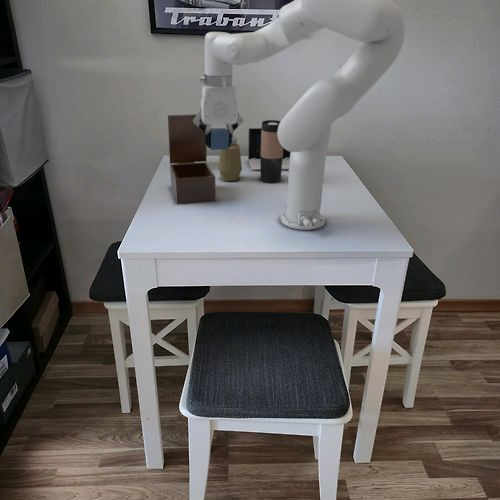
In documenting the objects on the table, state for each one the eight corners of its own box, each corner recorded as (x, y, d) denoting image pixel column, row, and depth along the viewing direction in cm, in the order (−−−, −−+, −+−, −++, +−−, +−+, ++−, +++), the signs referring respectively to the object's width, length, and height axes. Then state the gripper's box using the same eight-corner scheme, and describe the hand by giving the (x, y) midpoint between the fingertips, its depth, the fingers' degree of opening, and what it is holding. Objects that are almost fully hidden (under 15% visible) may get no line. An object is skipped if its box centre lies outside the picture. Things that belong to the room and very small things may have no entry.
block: (228, 149, 137) (228, 132, 135) (211, 150, 136) (211, 132, 134) (224, 144, 141) (225, 127, 139) (208, 145, 140) (208, 128, 138)
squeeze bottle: (244, 181, 165) (245, 129, 157) (222, 183, 162) (222, 131, 154) (236, 174, 171) (237, 124, 163) (215, 176, 169) (214, 125, 160)
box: (215, 201, 148) (215, 176, 144) (177, 204, 145) (175, 179, 141) (206, 185, 161) (206, 162, 157) (171, 187, 158) (170, 164, 154)
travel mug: (281, 176, 170) (284, 120, 161) (281, 183, 163) (284, 125, 154) (260, 175, 171) (262, 119, 161) (258, 182, 164) (260, 124, 155)
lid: (206, 114, 147) (204, 108, 151) (168, 116, 144) (166, 109, 148) (206, 161, 156) (203, 154, 160) (170, 163, 154) (168, 156, 157)
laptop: (251, 171, 175) (252, 136, 169) (247, 161, 186) (248, 128, 180) (299, 170, 177) (301, 135, 171) (292, 160, 188) (294, 127, 182)
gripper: (189, 83, 125) (191, 151, 133) (252, 83, 129) (249, 149, 137) (185, 79, 131) (187, 144, 140) (245, 79, 135) (243, 142, 144)
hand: (218, 145), depth 138 cm, fingers closed on block, 5 cm apart
